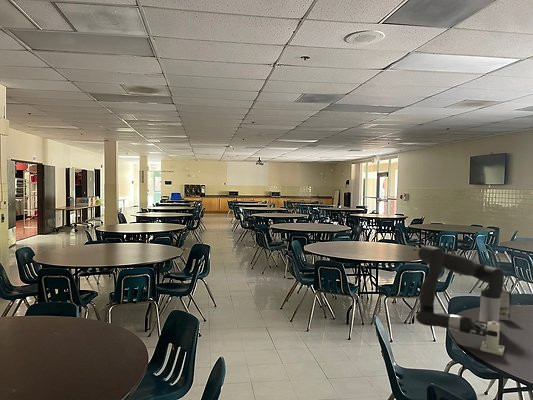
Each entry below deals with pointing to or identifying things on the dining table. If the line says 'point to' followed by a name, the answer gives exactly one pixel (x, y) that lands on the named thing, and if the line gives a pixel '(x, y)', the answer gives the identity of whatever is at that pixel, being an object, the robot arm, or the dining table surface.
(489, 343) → the battery cell
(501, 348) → the tray
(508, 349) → the dining table surface
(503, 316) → the coffee box
